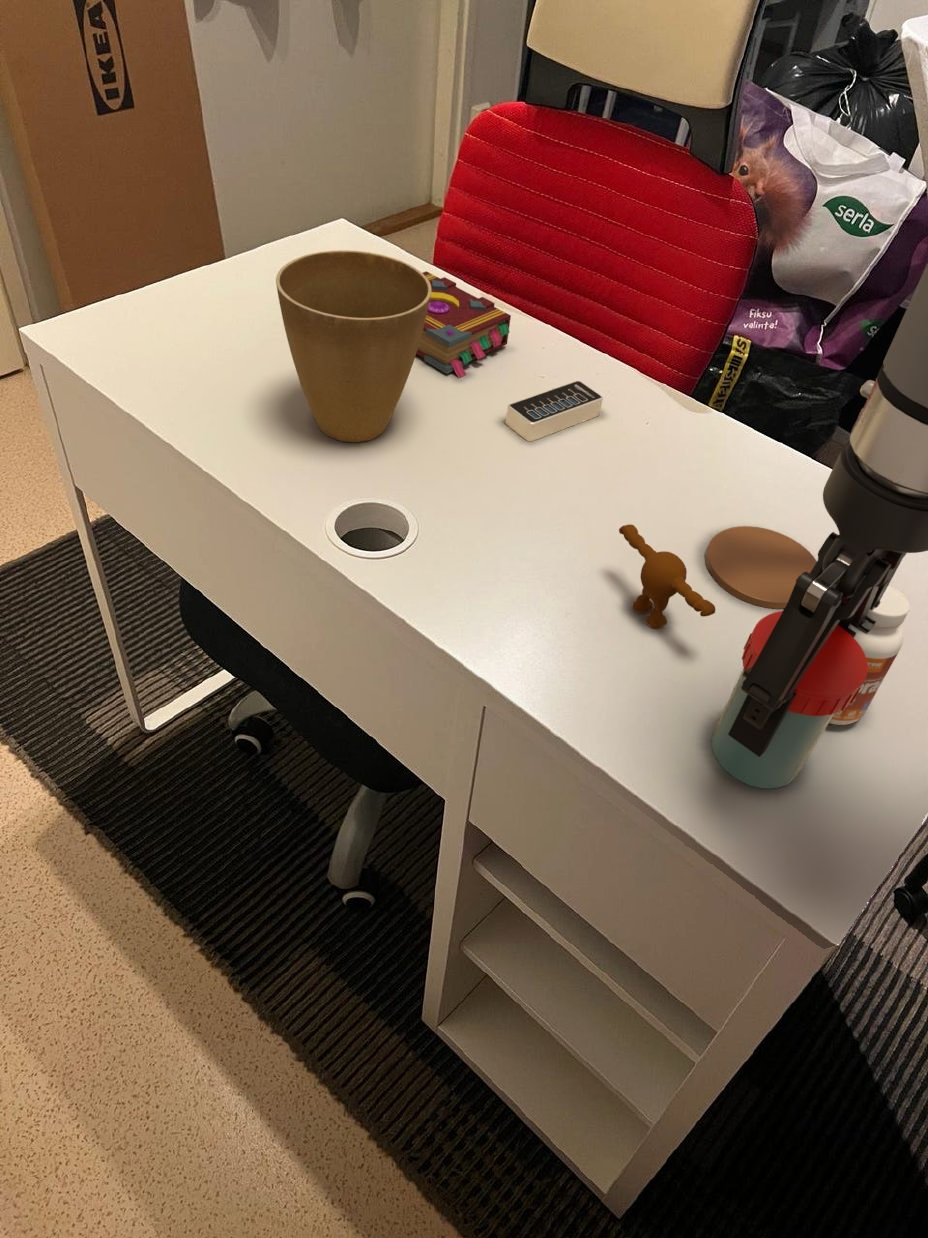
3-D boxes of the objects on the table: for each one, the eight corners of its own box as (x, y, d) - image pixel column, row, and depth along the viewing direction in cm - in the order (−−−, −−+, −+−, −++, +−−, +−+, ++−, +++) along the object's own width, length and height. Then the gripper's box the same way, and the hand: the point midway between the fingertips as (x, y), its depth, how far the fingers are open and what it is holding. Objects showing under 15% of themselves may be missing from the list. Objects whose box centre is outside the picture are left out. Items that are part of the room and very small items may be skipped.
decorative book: (424, 301, 119) (427, 264, 116) (515, 351, 112) (521, 313, 109) (360, 326, 113) (361, 288, 110) (452, 380, 106) (456, 341, 103)
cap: (723, 678, 63) (733, 656, 62) (765, 615, 68) (775, 593, 67) (834, 736, 61) (848, 715, 59) (869, 666, 66) (883, 645, 64)
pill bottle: (821, 734, 72) (876, 628, 65) (773, 683, 76) (820, 578, 69) (879, 719, 74) (938, 614, 67) (829, 670, 78) (880, 567, 72)
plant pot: (394, 477, 92) (400, 332, 81) (260, 442, 94) (248, 295, 83) (439, 405, 102) (451, 267, 91) (318, 374, 104) (314, 236, 93)
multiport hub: (503, 422, 101) (506, 404, 99) (575, 396, 106) (578, 379, 104) (529, 442, 99) (532, 424, 97) (600, 414, 104) (605, 397, 102)
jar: (818, 773, 70) (877, 681, 62) (746, 800, 68) (798, 708, 60) (763, 707, 75) (812, 613, 67) (694, 730, 72) (736, 635, 64)
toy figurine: (708, 653, 78) (732, 597, 74) (675, 666, 77) (697, 609, 72) (627, 567, 85) (644, 511, 81) (595, 578, 84) (610, 521, 79)
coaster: (842, 594, 86) (846, 588, 85) (749, 620, 82) (752, 613, 81) (772, 523, 92) (775, 517, 92) (683, 544, 89) (685, 537, 88)
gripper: (925, 377, 59) (801, 620, 75) (760, 501, 48) (655, 756, 64) (1039, 429, 56) (884, 672, 72) (891, 576, 44) (746, 825, 60)
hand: (776, 711), depth 68 cm, fingers closed on cap, 8 cm apart
